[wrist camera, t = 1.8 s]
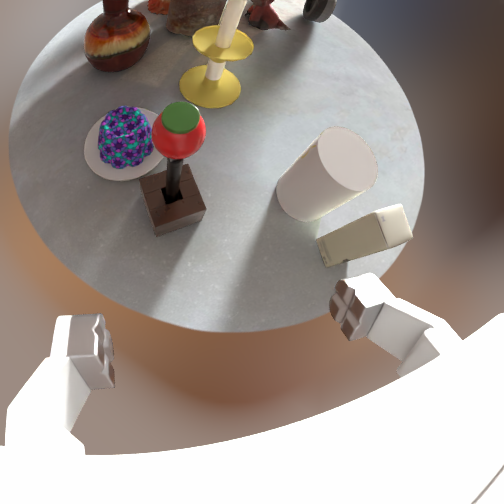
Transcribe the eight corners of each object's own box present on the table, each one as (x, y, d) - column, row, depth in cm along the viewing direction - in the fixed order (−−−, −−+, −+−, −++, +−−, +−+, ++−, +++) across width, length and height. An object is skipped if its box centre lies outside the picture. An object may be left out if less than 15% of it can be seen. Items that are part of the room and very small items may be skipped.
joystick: (191, 216, 35) (218, 131, 18) (161, 227, 34) (160, 147, 16) (180, 188, 35) (199, 89, 18) (150, 198, 34) (145, 101, 17)
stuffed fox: (287, 41, 47) (311, 1, 36) (235, 26, 45) (253, -18, 33) (288, 25, 49) (309, -12, 38) (240, 11, 46) (257, -29, 35)
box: (324, 268, 39) (386, 251, 27) (314, 238, 40) (372, 210, 28) (352, 257, 41) (415, 238, 29) (342, 229, 41) (402, 202, 29)
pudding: (103, 199, 32) (95, 183, 27) (74, 133, 32) (66, 112, 27) (184, 157, 36) (188, 136, 31) (147, 99, 36) (148, 75, 31)
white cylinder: (317, 167, 42) (363, 128, 31) (333, 217, 41) (386, 189, 30) (270, 171, 40) (307, 125, 28) (284, 225, 39) (331, 194, 27)
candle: (249, 80, 42) (318, -50, 17) (225, 118, 39) (296, -40, 14) (197, 59, 40) (239, -76, 15) (167, 93, 37) (195, -68, 12)
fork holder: (201, 221, 36) (206, 209, 31) (156, 237, 33) (154, 227, 29) (185, 179, 36) (188, 163, 32) (141, 194, 34) (138, 179, 30)
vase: (95, 88, 34) (84, 13, 20) (81, 54, 34) (72, -13, 20) (158, 64, 38) (167, -10, 23) (137, 34, 38) (142, -32, 24)
